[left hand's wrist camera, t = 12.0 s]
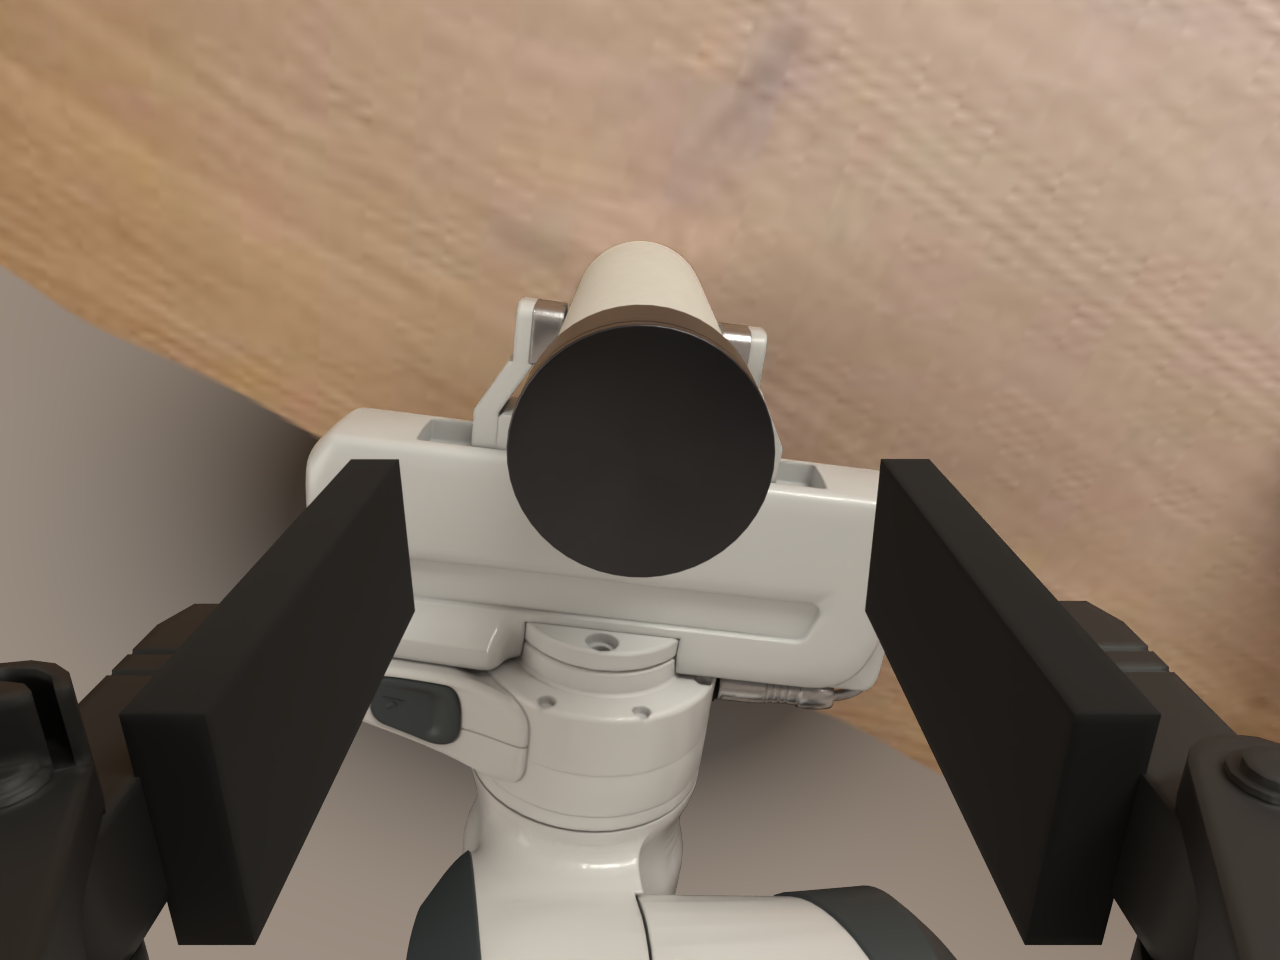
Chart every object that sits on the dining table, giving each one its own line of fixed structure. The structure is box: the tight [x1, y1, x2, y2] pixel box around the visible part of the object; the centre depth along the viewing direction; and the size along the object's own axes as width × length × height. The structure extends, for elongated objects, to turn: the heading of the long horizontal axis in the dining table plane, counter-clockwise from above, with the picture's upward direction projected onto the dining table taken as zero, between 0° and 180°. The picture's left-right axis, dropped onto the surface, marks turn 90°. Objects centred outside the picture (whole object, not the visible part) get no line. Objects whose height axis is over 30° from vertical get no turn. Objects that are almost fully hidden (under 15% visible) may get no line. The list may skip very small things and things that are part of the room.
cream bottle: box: [558, 241, 722, 336], centre depth 26 cm, size 5×5×17 cm
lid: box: [506, 305, 775, 578], centre depth 19 cm, size 6×5×2 cm
